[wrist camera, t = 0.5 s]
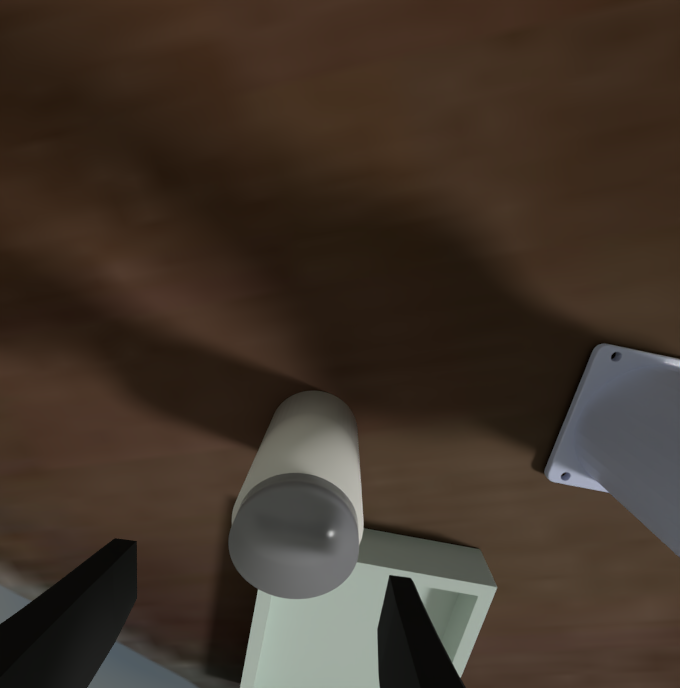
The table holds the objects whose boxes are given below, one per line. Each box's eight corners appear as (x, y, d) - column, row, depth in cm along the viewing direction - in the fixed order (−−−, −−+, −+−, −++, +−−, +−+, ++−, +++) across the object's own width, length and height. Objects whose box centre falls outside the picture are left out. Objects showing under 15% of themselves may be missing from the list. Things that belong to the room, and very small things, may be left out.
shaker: (365, 399, 19) (379, 501, 11) (347, 475, 20) (348, 613, 13) (278, 382, 19) (231, 473, 11) (265, 460, 20) (214, 590, 12)
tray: (480, 549, 21) (497, 587, 19) (418, 713, 25) (426, 762, 23) (275, 512, 21) (266, 546, 19) (243, 684, 25) (231, 732, 22)
